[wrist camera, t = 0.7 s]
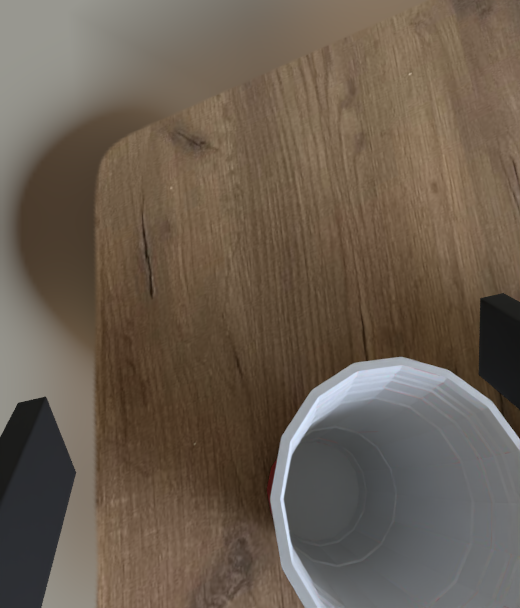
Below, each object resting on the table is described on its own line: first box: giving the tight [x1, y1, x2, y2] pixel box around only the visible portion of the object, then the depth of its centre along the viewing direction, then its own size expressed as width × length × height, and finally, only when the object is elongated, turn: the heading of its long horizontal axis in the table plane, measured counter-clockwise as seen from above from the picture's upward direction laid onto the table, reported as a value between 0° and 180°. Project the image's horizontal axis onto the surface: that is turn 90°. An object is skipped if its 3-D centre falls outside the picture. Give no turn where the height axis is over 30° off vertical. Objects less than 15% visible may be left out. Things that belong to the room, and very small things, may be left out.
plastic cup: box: [267, 357, 520, 608], centre depth 23 cm, size 11×11×12 cm
